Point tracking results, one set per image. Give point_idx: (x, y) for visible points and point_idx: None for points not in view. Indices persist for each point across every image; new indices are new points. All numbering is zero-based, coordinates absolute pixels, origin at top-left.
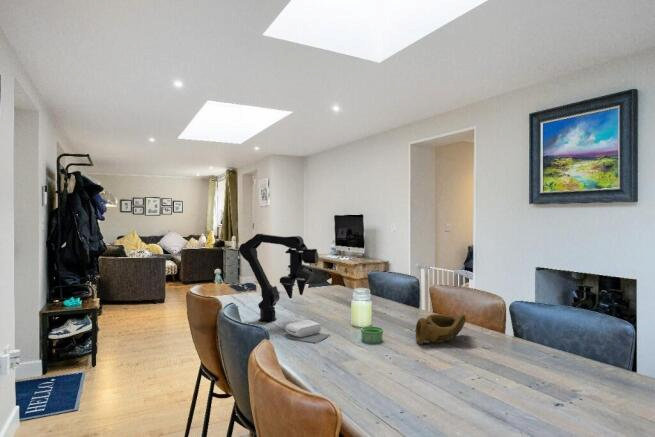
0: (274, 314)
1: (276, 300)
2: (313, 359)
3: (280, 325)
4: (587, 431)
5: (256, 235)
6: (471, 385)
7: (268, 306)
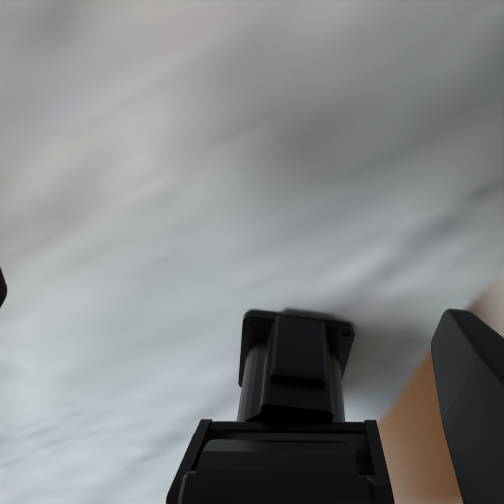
0: (290, 346)
1: (282, 460)
2: None
3: (415, 210)
4: None
5: None
6: None
7: (380, 444)
